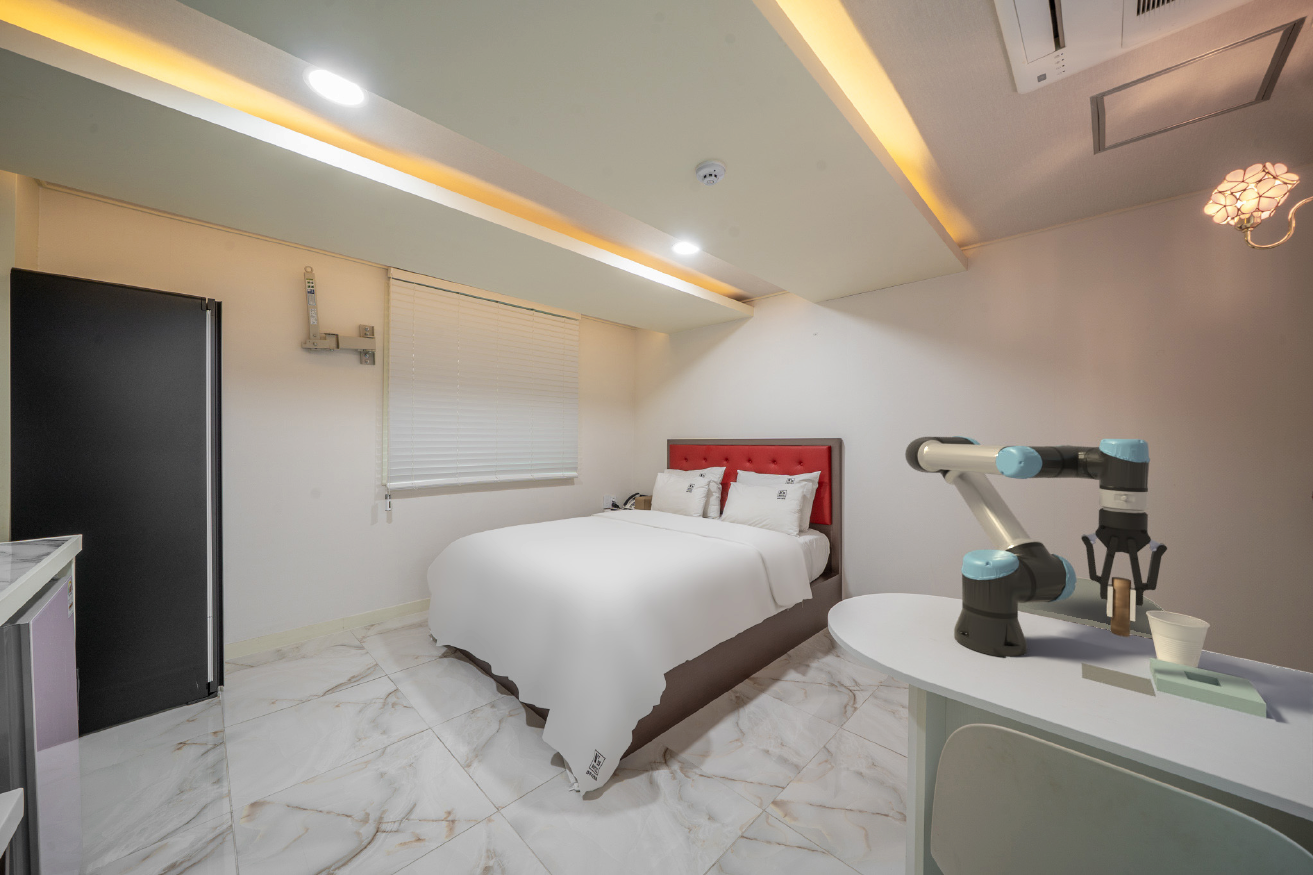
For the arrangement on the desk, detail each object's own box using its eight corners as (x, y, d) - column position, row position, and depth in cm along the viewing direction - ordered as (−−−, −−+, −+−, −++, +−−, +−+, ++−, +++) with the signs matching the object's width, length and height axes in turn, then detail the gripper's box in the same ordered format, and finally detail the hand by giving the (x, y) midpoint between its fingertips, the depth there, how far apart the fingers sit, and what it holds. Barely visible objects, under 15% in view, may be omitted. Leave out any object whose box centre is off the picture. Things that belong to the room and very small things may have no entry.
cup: (1224, 678, 102) (1224, 628, 102) (1170, 673, 104) (1170, 624, 104) (1182, 657, 112) (1183, 611, 112) (1134, 653, 114) (1134, 608, 114)
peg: (1110, 633, 101) (1112, 579, 101) (1110, 629, 103) (1111, 576, 103) (1130, 638, 99) (1131, 582, 99) (1129, 633, 101) (1130, 579, 101)
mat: (1082, 679, 101) (1082, 677, 101) (1081, 664, 108) (1081, 662, 108) (1155, 698, 94) (1155, 696, 94) (1150, 681, 101) (1150, 679, 101)
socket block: (1157, 692, 96) (1157, 677, 96) (1149, 670, 105) (1149, 657, 105) (1266, 719, 87) (1266, 704, 87) (1248, 693, 96) (1248, 679, 96)
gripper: (1073, 507, 103) (1071, 612, 103) (1180, 516, 92) (1177, 633, 93) (1073, 503, 109) (1071, 602, 109) (1174, 511, 98) (1171, 621, 98)
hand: (1120, 616), depth 101 cm, fingers closed on peg, 3 cm apart
